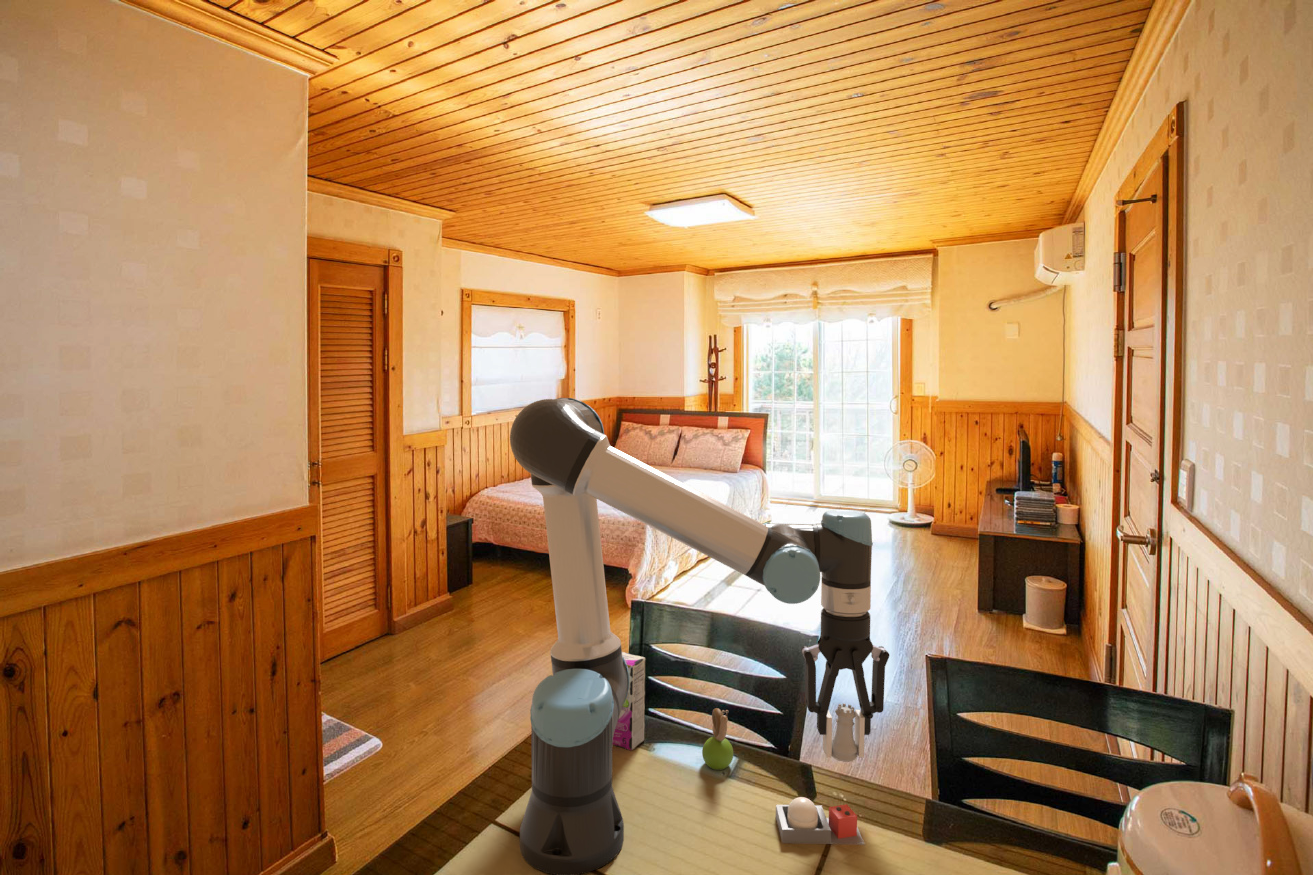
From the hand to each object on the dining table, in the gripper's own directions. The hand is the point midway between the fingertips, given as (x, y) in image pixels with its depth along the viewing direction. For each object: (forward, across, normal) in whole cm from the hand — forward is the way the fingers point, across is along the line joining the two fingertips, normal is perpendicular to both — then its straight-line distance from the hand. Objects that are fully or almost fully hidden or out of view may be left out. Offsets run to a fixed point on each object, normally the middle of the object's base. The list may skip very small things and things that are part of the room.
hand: (843, 752), depth 109 cm
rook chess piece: (+1, 0, 0) cm, 1 cm away
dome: (+8, -8, -7) cm, 13 cm away
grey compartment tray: (+8, -5, -7) cm, 12 cm away
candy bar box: (+8, -38, +19) cm, 44 cm away
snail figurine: (+9, -19, +10) cm, 23 cm away
